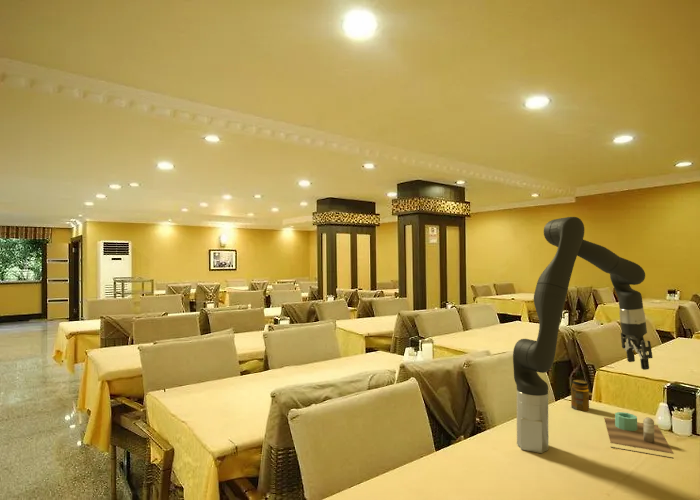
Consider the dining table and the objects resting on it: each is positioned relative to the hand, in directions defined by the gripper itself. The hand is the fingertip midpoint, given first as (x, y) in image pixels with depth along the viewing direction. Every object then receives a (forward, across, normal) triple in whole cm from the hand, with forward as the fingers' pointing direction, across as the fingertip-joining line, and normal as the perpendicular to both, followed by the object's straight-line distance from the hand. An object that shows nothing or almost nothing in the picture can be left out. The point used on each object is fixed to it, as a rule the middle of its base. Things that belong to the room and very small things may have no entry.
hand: (638, 365), depth 150 cm
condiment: (+20, -11, -18) cm, 29 cm away
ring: (+19, +6, -10) cm, 22 cm away
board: (+20, +12, -10) cm, 25 cm away
